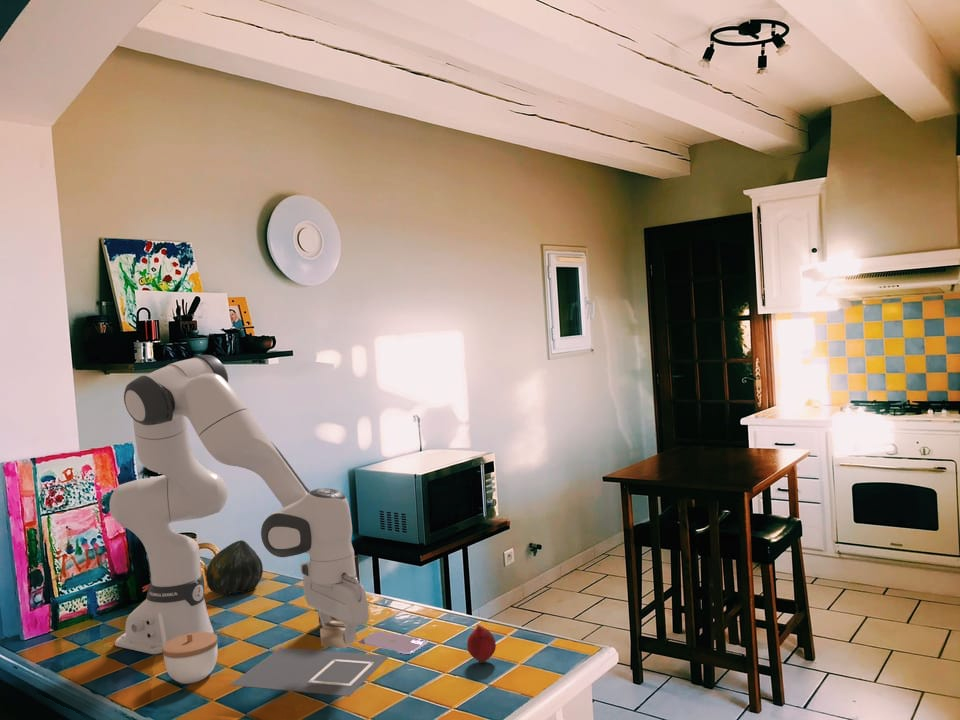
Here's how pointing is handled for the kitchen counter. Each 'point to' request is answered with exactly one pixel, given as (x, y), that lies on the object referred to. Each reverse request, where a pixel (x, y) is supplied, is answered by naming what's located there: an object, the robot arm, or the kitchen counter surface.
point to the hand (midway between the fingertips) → (338, 636)
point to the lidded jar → (191, 656)
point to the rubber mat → (312, 671)
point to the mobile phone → (394, 642)
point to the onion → (481, 644)
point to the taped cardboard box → (334, 635)
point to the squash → (234, 569)
